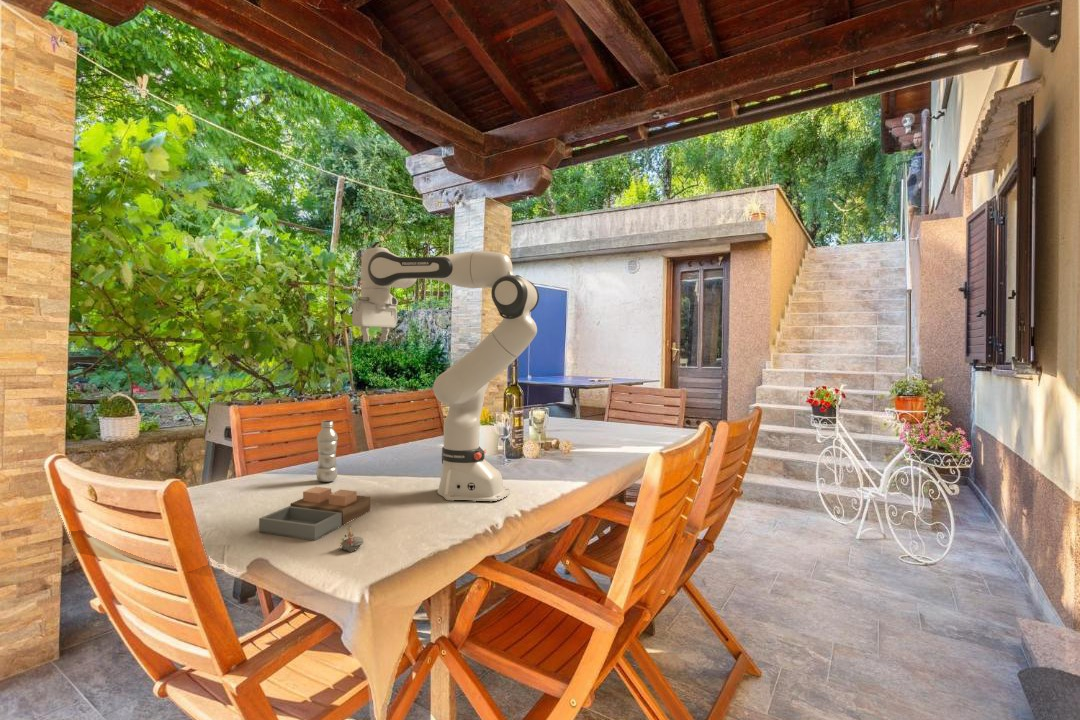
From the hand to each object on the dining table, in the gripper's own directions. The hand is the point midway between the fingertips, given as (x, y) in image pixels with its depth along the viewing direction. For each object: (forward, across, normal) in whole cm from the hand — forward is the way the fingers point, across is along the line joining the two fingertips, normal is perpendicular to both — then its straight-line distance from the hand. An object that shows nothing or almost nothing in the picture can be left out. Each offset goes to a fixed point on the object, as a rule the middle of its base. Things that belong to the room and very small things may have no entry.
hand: (375, 341), depth 172 cm
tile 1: (+42, -31, -2) cm, 52 cm away
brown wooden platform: (+46, -30, -6) cm, 56 cm away
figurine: (+47, -48, -25) cm, 72 cm away
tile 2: (+43, -30, -10) cm, 53 cm away
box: (+46, -42, -6) cm, 63 cm away
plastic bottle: (+47, -3, +16) cm, 49 cm away
